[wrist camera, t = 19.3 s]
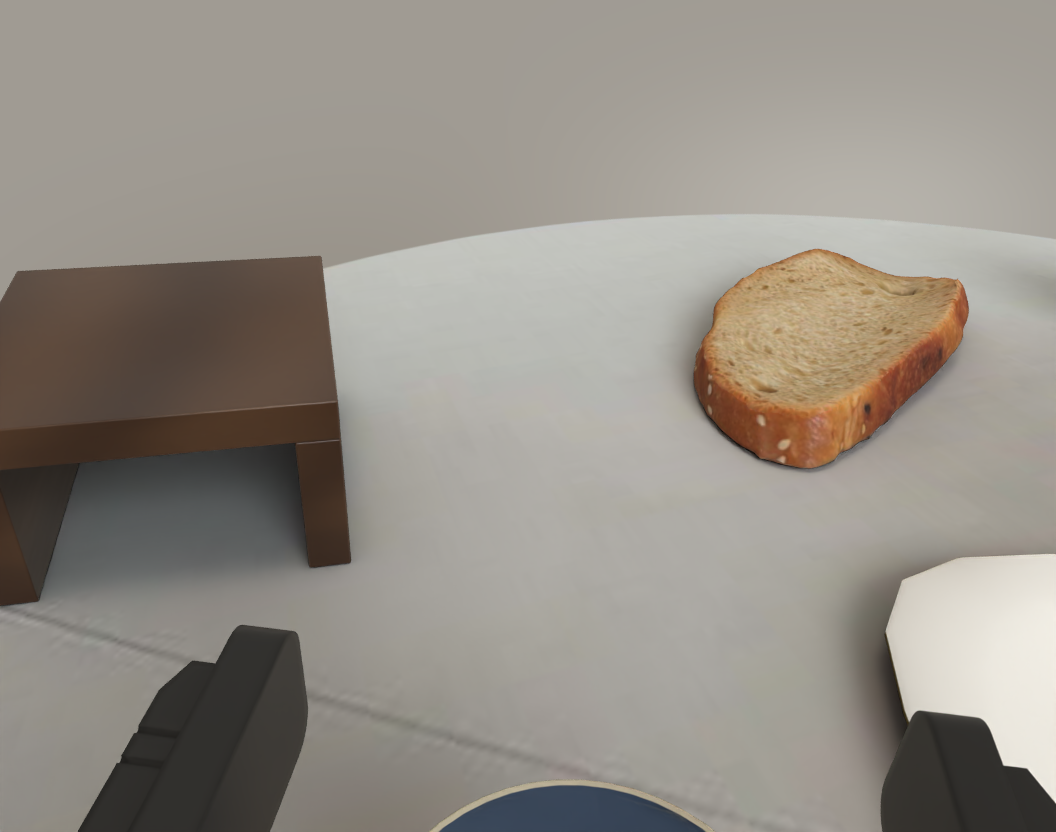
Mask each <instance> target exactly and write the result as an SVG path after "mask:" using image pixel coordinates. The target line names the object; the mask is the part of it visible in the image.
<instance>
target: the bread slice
mask: <svg viewBox="0 0 1056 832" xmlns="http://www.w3.org/2000/svg"><path fill="white" fill-rule="evenodd" d="M968 313H969V307H968V301H967V297H966V293H965V290H964V287H963V285H962V284H961V282H960V281H959V280H958V278H957V280H953V279H949V278H938V279H936V278H932V277H901V276H894V275H890V274H886V273H883V272H881V271H878V270H875V269H873V268H870V267H867V266H865V265H862V264H860V263H858V262H856V261H854V260H853V259H851V258H849V257H845V256H842V255H840V254H838V253H834V252H831V251H827V250H822V249H813V250H808V251H805V252H802V253H799V254H796V255H793V256H791V257H789V258H787V259H784V260H782V261H780V262H776V263H774V264H771V265H769V266H766V267H762V268H759V269H757V270H756V271H755V272H754V273H753V274H751V275H749V276H748V277H745V278H742V279H741V280H740V281H739V282H738V283H737V284H736V285H735V286H734V287H733V288H731V289H729V290H728V291H727V292H726V293H725V294H724V295H723V297H721V298H720V299H719V300H718V302H717V303H716V305H715V307H714V313H713V325H712V328H711V330H710V331H709V332H708V334H707V335H706V336H705V337H704V339H703V341H702V343H701V346H700V348H699V350H698V352H697V354H696V361H695V367H694V386H695V389H696V390H697V393H698V396H699V400H700V402H701V403H702V404H703V406H704V408H705V411H706V413H707V415H708V416H709V417H711V419H713V421H714V422H715V423H716V424H717V425H718V426H719V428H720V429H721V430H722V431H723V432H725V433H726V434H727V435H728V436H729V437H730V438H732V439H733V440H734V441H735V442H737V443H738V444H740V445H741V446H743V447H744V448H746V449H748V450H750V451H752V452H754V453H755V454H756V455H757V456H758V457H759V458H761V459H766V460H770V461H773V462H777V463H780V464H783V465H789V466H794V467H799V468H814V467H818V466H822V465H824V464H827V463H830V462H832V461H833V460H834V459H835V458H836V457H837V456H838V454H839V453H841V452H844V451H847V450H849V449H851V448H852V447H853V446H855V445H856V444H857V443H858V442H860V441H862V440H866V439H869V438H870V437H871V436H872V434H873V433H874V431H875V430H876V429H877V428H878V427H879V426H881V425H883V424H885V423H886V422H887V421H888V420H889V419H890V417H891V416H892V414H893V413H894V412H895V411H896V410H897V409H898V408H900V407H901V406H902V405H903V404H904V403H905V402H906V401H907V399H908V398H909V397H911V396H912V395H913V394H914V393H915V392H917V391H918V390H919V389H920V388H921V387H922V386H923V385H924V384H925V383H926V382H927V381H928V380H929V379H930V378H931V377H932V376H933V375H934V374H935V373H936V372H937V371H938V370H939V369H940V368H941V367H942V366H943V364H944V363H945V362H946V361H947V359H948V358H949V356H950V355H951V354H952V353H953V352H954V351H955V350H956V349H957V347H958V345H959V344H960V342H961V340H962V337H963V328H964V326H965V324H966V322H967V318H968Z"/></svg>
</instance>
